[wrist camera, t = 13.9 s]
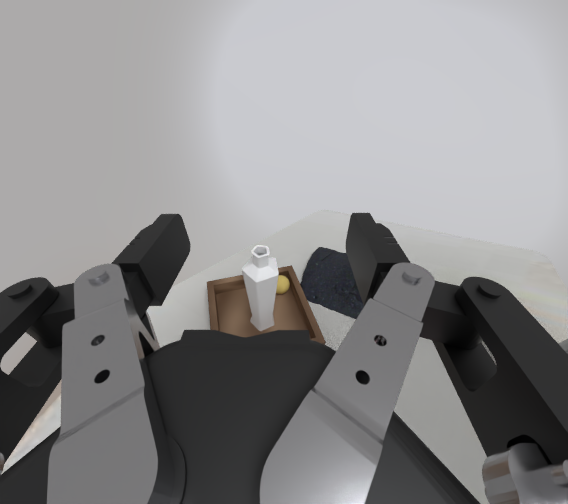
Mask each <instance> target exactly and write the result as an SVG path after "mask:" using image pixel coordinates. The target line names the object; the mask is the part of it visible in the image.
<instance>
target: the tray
mask: <svg viewBox="0 0 568 504" xmlns="http://www.w3.org/2000/svg"><path fill="white" fill-rule="evenodd" d="M278 272H279V275H283V276H285V277H286V278H287V279H288V280H289V283H290V286H289V289H288V290H287V291H286V292H285V293H283V294H278V293H276V296H275V303H274V309H273V317H274V326H272V327H269V328H267V329H265V330H262V331H259V330H258V329H257V328H256V327H255V326H254V325H253V324H252V323H251V322H250V320H251V317H252V312H251V308H250V304H249V299H248V295H247V291H246V286H245V282H244V278H243V275H240V276H235V277H230V278H224V279H219V280H214V281H209V282H207V289H208V302H209V314H210V327H211V330H217V331H221V332H225V333H229V334H233V335H237V336H240V337H250V336H255V335H259V334H263V333H267V332H272V331H276V330H309V336H310V340H313V341H316V342H319V343H322V344H324V345H325V340H324V337H323V335H322V333H321V331H320V328H319V326H318V324H317V322H316V319H315V317H314V315H313V313H312V310H311V308H310V306H309V304H308V301H307V299H306V297H305V294H304V292H303V290H302V288H301V285H300V283H299V281H298V279H297V276H296V274H295V272H294V270H293V267H292V266H287V267H282V268H278Z"/></svg>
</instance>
